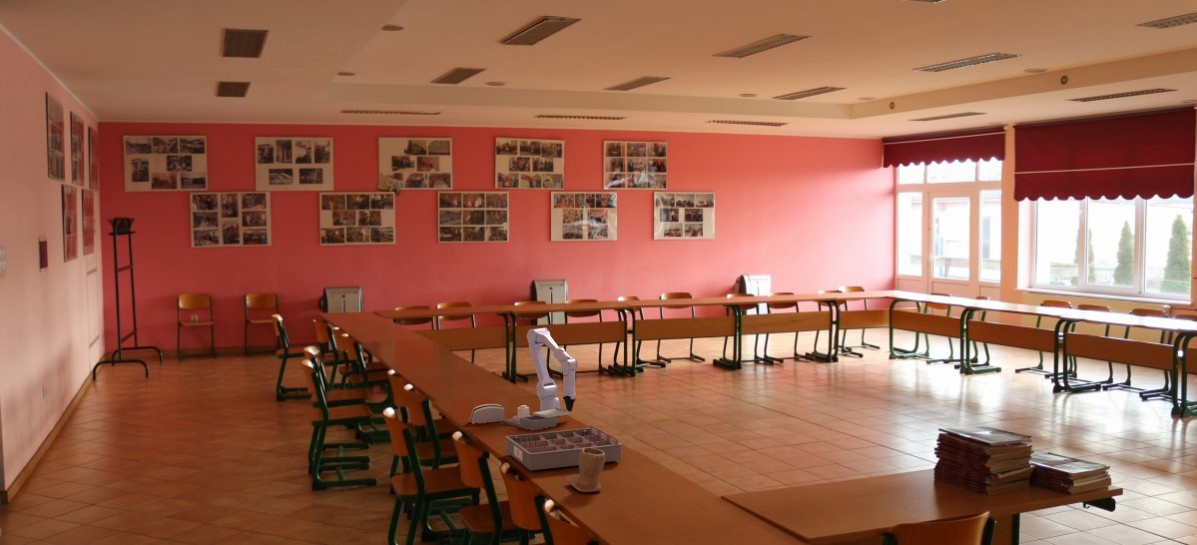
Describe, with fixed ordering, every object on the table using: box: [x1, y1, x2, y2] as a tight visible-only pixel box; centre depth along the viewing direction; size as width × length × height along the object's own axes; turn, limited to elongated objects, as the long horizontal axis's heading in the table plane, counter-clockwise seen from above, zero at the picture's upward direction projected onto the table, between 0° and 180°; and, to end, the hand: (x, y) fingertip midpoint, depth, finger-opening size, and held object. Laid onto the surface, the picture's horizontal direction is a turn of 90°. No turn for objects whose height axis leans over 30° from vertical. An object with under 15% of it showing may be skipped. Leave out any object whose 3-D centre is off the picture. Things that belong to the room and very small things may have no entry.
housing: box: [504, 414, 557, 432], centre depth 449 cm, size 14×22×4 cm, turn 42°
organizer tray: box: [504, 423, 623, 471], centre depth 387 cm, size 32×40×10 cm
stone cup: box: [566, 447, 606, 493], centre depth 345 cm, size 15×12×15 cm
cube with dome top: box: [517, 404, 530, 418], centre depth 453 cm, size 4×4×7 cm
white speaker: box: [469, 403, 506, 425], centre depth 455 cm, size 17×5×10 cm, turn 114°
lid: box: [532, 407, 570, 419], centre depth 450 cm, size 14×10×2 cm
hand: (569, 411), depth 458 cm, fingers closed
